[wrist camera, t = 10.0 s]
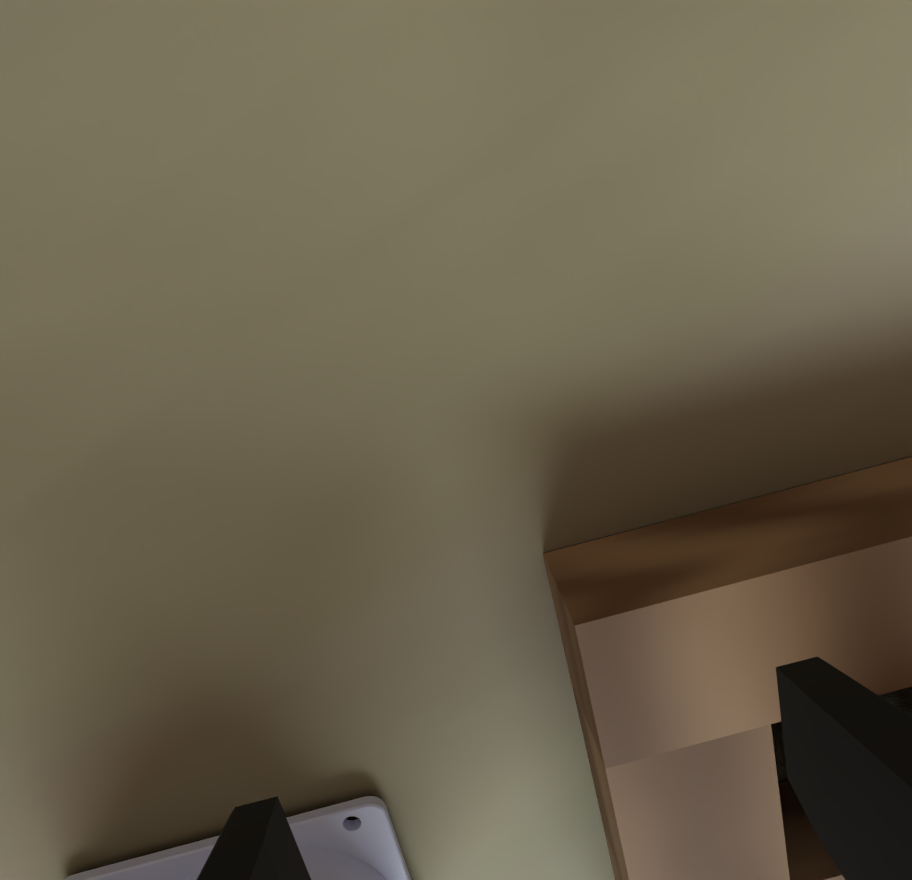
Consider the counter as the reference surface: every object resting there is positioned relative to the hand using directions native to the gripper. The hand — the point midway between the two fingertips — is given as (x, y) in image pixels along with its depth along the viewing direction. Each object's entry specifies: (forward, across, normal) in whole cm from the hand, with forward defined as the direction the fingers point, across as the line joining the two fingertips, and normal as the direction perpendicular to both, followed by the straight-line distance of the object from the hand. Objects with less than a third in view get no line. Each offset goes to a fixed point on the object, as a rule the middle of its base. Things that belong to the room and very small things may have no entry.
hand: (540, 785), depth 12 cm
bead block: (+10, -9, +10) cm, 17 cm away
